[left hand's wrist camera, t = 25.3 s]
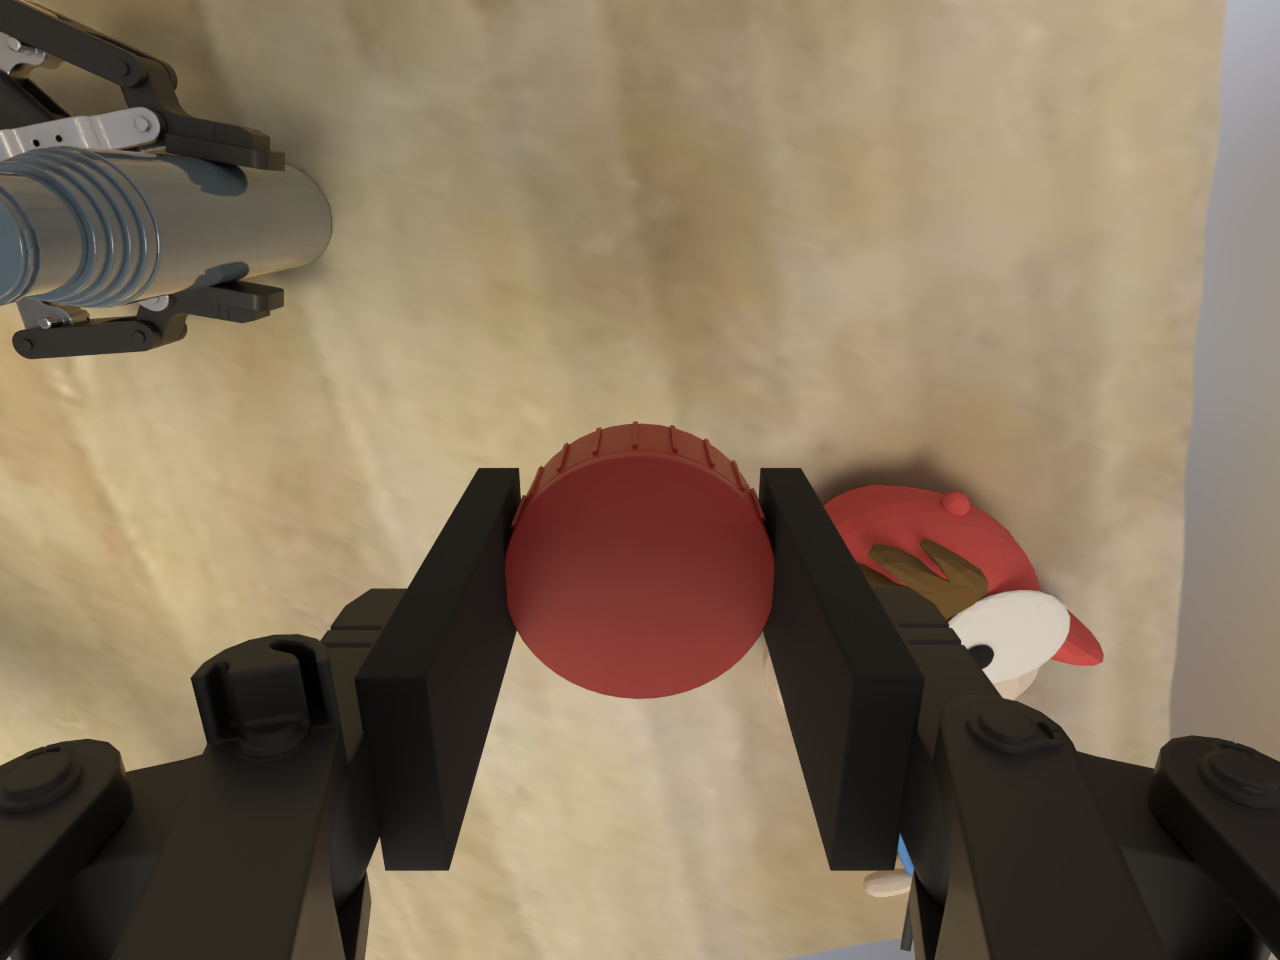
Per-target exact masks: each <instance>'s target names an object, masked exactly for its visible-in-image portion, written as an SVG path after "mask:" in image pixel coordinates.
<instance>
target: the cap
mask: <svg viewBox="0 0 1280 960" xmlns="http://www.w3.org/2000/svg"><path fill="white" fill-rule="evenodd" d="M764 521H766V518H765V515H764V513H763V510H762V508H761V505H760V503H759V500H758V497H757V495H756V492H755V490H754V488H752V489H750V487H749V485H748V484H747V482H746V480H745V479H744V477H743V476H742V474H741V473H740V471H739V469H738V466H737V463H736V462H735V461H734V460H733V461H732V462H731V461H730V460H729V459H728V458H727V457H726V456H725V455H724V454H722V453H721V452H720V451H719V450H718V449H716V448H715V447H713V446H712V445H710V443H709V440H707V439H706V438H705V439H704V440H702V439H700V438H698V437H696V436H694V435H692V434H690V433H687V432H684V431H681V430H678V429H675V426H673V425H670V427H666V426H661V425H652V424H638V422H633V424H626V425H619V426H613V427H609V428H605V429H601V427H600V428H597V429H596V431H595V432H593V433H590V434H588V435H586V436H584V437H581V438H579V439H577V440H576V441H574V442H573V443H571V444H568V443H566V444H564V446H563V449H562V450H561V451H560V452H559V453H557V454H556V455H555V456H554V457H553V458H552V459H551V460H550V461H549V462H548V463H547V464H546V465H545V466H544V467H542V466H540V467H539V469H538V471H537V474H536V476H535V479H534V481H533V483H532V485H531V487H530V489H529V491H528V493H527V495H526V496H525V495H523V496H522V499H521V501H520V504H519V506H518V509H517V511H516V514H515V516H514V519H513V522H512V524H511V527H510V528H511V529H513V532H512V534H511V537H510V540H509V543H508V546H507V549H506V554H505V574H506V588H507V602H508V611H509V614H510V617H511V619H512V621H513V624H514V626H515V628H516V630H517V631H518V633H519V635H520V636H521V638H522V640H523V641H524V643H525V644H526V645H527V646H528V648H529V649H530V650H531V651H532V653H533V654H534V655H535V656H536V657H537V658H538V659H539V660H540V661H542V662H543V663H544V664H545V665H546V666H547V667H548V668H550V669H551V670H552V671H554V672H555V673H556V674H558V675H559V676H561V677H563V678H565V679H566V680H568V681H570V682H571V683H574V684H576V685H578V686H580V687H583V688H585V689H587V690H591V691H594V692H597V693H600V694H604V695H609V696H615V697H620V698H633V699H645V698H658V697H665V696H671V695H675V694H679V693H683V692H686V691H689V690H692V689H694V688H697V687H700V686H702V685H704V684H706V683H708V682H710V681H712V680H714V679H716V678H717V677H719V676H720V675H722V674H723V673H724V672H726V671H727V670H729V669H730V668H731V667H732V666H734V665H735V664H736V663H737V662H738V661H739V660H740V659H742V657H743V656H744V655H745V654H746V653H747V652H748V651H749V650H750V648H751V647H752V646H753V645H754V643H755V642H756V640H757V639H758V637H759V636H760V634H761V633H762V631H763V629H764V627H765V625H766V623H767V621H768V619H769V616H770V612H771V608H772V596H773V582H774V568H775V555H774V552H773V548H772V544H771V541H770V538H769V535H768V533H767V530H766V527H765V525H764Z"/></svg>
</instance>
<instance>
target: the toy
mask: <svg viewBox="0 0 1280 960" xmlns="http://www.w3.org/2000/svg"><path fill="white" fill-rule="evenodd" d="M823 507H824V508H825V510H826V512H827V513H828V515H829V517H830V518H831V520H832V522H833V523H834V525H835V527H836V529H837V530H838V532H839V534H840V535H841V537H842V539H843V540H844V542H845V544H846V545H847V547H848V549H849V551H850V552H851V554H852V556H853V557H854V559H855V561H856V562H857V564H858V566H859V567H860V569H861V571H862V573H863V574H864V576H865V578H866V579H867V581H868V583H869V584H870V586H909V587H910V588H912V589H913V590H915V591H916V592H918V593H919V594H921V595H922V596H924V597H925V598H927V599H928V600H930V601H931V602H933V603H934V604H935V605H936V606H937V608H938V609H939V610H940V612H941V613H942V615H943V616H944V617H945V619H946V620H947V621H948V623H949V628H953V630H954V631H955V633H956V634H957V635H958V637H959V638H960V639H961V644H962V645H965V646H966V648H967V649H968V651H969V652H970V653H971V655H972V656H973V657H974V659H975V660H976V662H977V663H978V664H979V666H980V667H981V668H982V670H983V671H984V673H985V674H986V675H987V677H988V678H989V680H990V681H991V682H992V684H993V685H994V686H995V688H996V689H997V691H998V692H999V693H1000V695H1001V696H1002V698H1005V699H1009V700H1015V699H1016V698H1017V697H1018V696H1019V695H1020V694H1021V693H1023V692H1024V691H1025V690H1026V689H1027V688H1028V687H1029V686H1030V684H1031V683H1032V682H1033V681H1034V679H1035V678H1036V675H1037V673H1038V670H1039V667H1040V666H1041V665H1042V664H1044V663H1045V662H1046V661H1047V660H1049V659H1050V658H1051V659H1052V660H1056V661H1060V662H1064V663H1068V664H1072V665H1079V666H1095V665H1097V664H1099V663H1101V662H1103V656H1104V654H1103V652H1102V649H1101V646H1100V644H1099V642H1098V641H1097V640H1096V638H1095V637H1094V636H1093V634H1092V633H1091V631H1089V630H1088V629H1087V628H1086V627H1085V626H1084V625H1083V624H1082V623H1081V622H1080V621H1079V620H1078V619H1077V618H1076V617H1075V616H1074V615H1073V614H1072V613H1071V612H1069V611H1068V610H1067V609H1066V606H1065V605H1064V604H1063V603H1062V602H1060V601H1059V600H1058V599H1056V598H1055V597H1054V596H1052V595H1049V594H1046V593H1043V592H1042V591H1041V588H1040V585H1039V582H1038V579H1037V576H1036V574H1035V571H1034V569H1033V567H1032V565H1031V563H1030V561H1029V559H1028V557H1027V555H1026V554H1025V553H1024V551H1023V550H1022V549H1021V547H1020V546H1019V545H1018V543H1017V542H1016V541H1015V539H1014V538H1013V537H1012V536H1011V534H1010V533H1009V532H1008V530H1007V529H1005V528H1004V527H1003V526H1002V525H1001V524H1000V523H999V522H997V521H996V520H995V519H994V518H993V517H991V516H990V515H988V514H987V513H985V512H984V511H982V510H980V509H978V508H976V507H974V506H972V505H970V501H969V498H968V497H967V496H966V495H965V494H964V493H962V492H959V491H952V492H948V493H947V494H946V495H944V494H941V493H937V492H934V491H929V490H923V489H917V488H911V487H905V486H885V485H870V486H865V487H860V488H855V489H851V490H849V491H847V492H845V493H842V494H840V495H838V496H836V497H834V498H833V499H832V500H830V501H829V502H827V503H826V504H825V505H823ZM763 675H764V679H765V684H766V685H767V687H768V689H769V690H770V692H771V693H772V694H773V696H774V697H775V698H776V699H777V701H778V702H779V703H780V705H781V706H782V707H783V708H784V709H785V707H784V704H783V700H782V697H781V693H780V690H779V686H778V683H777V679H776V675H775V672H774V668H773V665H772V661H771V658H770V654H769V651H768V647H767V644H766V645H765V649H764V660H763ZM898 853H899V857H900V860H901V862H902V864H903V866H904V868H905V869H894V871H878V872H874V873H872V874H870V875H868V876H866V877H865V879H864V883H863V884H864V888H865V890H866V892H867V893H868V894H869V895H871V896H875V897H885V896H894V895H898V894H902V893H905V892H908V891H910V887H911V882H912V876H913V870H914V866H913V864H912V861H911V859H910V857H909V854H908V852H907V849H906V847H905V844H904V842H903V839H902V837H901V834H900V837H899V843H898Z"/></svg>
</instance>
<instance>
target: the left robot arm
mask: <svg viewBox="0 0 1280 960" xmlns="http://www.w3.org/2000/svg"><path fill="white" fill-rule="evenodd" d="M520 501H521V494H520V478H519V468H479V469H478V470H477V472H476V474H475V475H474V477H473V479H472V480H471V482H470V484H469V485H468V487H467V489H466V491H465V492H464V494H463V496H462V497H461V499H460V501H459V502H458V504H457V506H456V507H455V509H454V511H453V512H452V514H451V516H450V518H449V519H448V521H447V523H446V524H445V526H444V528H443V529H442V531H441V533H440V534H439V536H438V538H437V540H436V541H435V543H434V545H433V546H432V548H431V550H430V551H429V553H428V555H427V556H426V558H425V560H424V561H423V563H422V565H421V567H420V568H419V570H418V572H417V573H416V575H415V577H414V578H413V580H412V582H411V583H410V585H409V587H408V589H370V590H369V591H367V592H366V593H364V594H363V595H361V596H360V597H358V598H357V599H355V600H354V601H352V602H351V603H349V604H348V605H346V606H345V607H344V609H343V610H342V611H341V613H340V614H339V616H338V617H337V618H336V620H335V621H334V623H333V624H332V625H331V630H328V631H327V632H326V634H325V635H324V636H323V638H322V639H321V641H319V640H318V639H315V638H311V637H307V636H303V635H299V634H290V635H271V636H267V637H262V638H257V639H252V640H248V641H246V642H243V643H241V644H238V645H235V646H233V647H230V648H228V649H225V650H223V651H222V652H220V653H219V654H217V655H215V656H214V657H212V658H211V659H209V660H208V661H206V662H204V663H203V664H202V665H201V667H200V668H199V669H198V670H197V671H196V672H195V673H194V675H193V676H192V677H191V681H192V685H193V689H194V693H195V697H196V701H197V705H198V709H199V713H200V716H201V720H202V724H203V728H204V732H205V736H206V740H207V746H206V748H205V750H204V752H203V754H202V755H199V756H195V757H192V758H188V759H185V760H180V761H175V762H171V763H166V764H161V765H157V766H152V767H147V768H143V769H138V770H133V771H129V772H126V771H125V768H124V764H123V761H122V758H121V755H120V752H119V751H118V750H117V749H116V748H115V747H113V746H112V745H111V744H110V743H109V742H104V741H98V740H92V739H83V740H74V741H65V742H59V743H56V744H51V745H47V746H46V747H40V748H38V749H35V750H32V751H29V752H27V753H25V754H24V755H22V756H20V757H18V758H15V759H13V760H11V761H9V762H7V763H5V764H3V765H1V766H0V960H6V959H7V958H8V957H9V956H10V958H11V960H365V952H366V943H367V935H368V926H369V918H370V909H371V896H370V888H369V882H368V876H367V870H366V869H367V867H368V864H369V862H370V859H371V857H372V854H373V852H374V849H375V847H376V844H377V842H378V839H379V837H380V840H381V846H382V853H383V859H384V865H385V871H434V870H449V868H450V865H451V861H452V858H453V854H454V851H455V847H456V844H457V840H458V837H459V833H460V829H461V826H462V822H463V819H464V815H465V812H466V808H467V805H468V801H469V798H470V794H471V791H472V787H473V783H474V780H475V776H476V773H477V769H478V766H479V762H480V759H481V755H482V752H483V748H484V745H485V741H486V738H487V734H488V730H489V727H490V723H491V720H492V716H493V713H494V709H495V706H496V702H497V699H498V695H499V692H500V688H501V684H502V681H503V677H504V674H505V670H506V667H507V663H508V660H509V656H510V653H511V649H512V646H513V642H514V638H515V635H516V631H517V630H516V628H515V626H514V624H513V621H512V619H511V617H510V614H509V611H508V602H507V588H506V574H505V554H506V549H507V546H508V543H509V540H510V537H511V534H512V532H513V529H511V528H510V527H511V524H512V522H513V519H514V516H515V514H516V511H517V509H518V506H519V504H520ZM759 503H760V505H761V508H762V510H763V513H764V515H765V518H766V521H764V525H765V527H766V530H767V533H768V535H769V538H770V541H771V544H772V548H773V552H774V555H775V568H774V582H773V596H772V608H771V612H770V616H769V619H768V621H767V623H766V625H765V627H764V629H763V633H764V637H765V640H766V644H767V647H768V651H769V654H770V658H771V661H772V665H773V668H774V672H775V675H776V679H777V683H778V686H779V690H780V693H781V697H782V700H783V704H784V707H785V711H786V714H787V718H788V722H789V725H790V729H791V732H792V736H793V739H794V743H795V746H796V750H797V753H798V757H799V760H800V764H801V768H802V771H803V775H804V778H805V782H806V785H807V789H808V792H809V796H810V799H811V803H812V806H813V810H814V814H815V817H816V821H817V824H818V828H819V831H820V835H821V838H822V842H823V845H824V849H825V852H826V856H827V860H828V863H829V867H830V870H831V871H894V868H895V862H896V856H897V850H898V843H899V837H900V834H901V837H902V839H903V842H904V844H905V847H906V849H907V852H908V854H909V857H910V859H911V861H912V864H913V866H914V870H913V876H912V882H911V887H910V893H909V899H908V905H907V910H906V916H905V922H904V927H903V933H902V941H901V950H906V951H911V946H912V940H913V942H914V950H915V959H916V960H1268V958H1269V956H1270V954H1271V952H1272V953H1273V954H1274V955H1275V957H1276V958H1277V959H1278V960H1280V762H1279V761H1277V760H1275V759H1273V758H1270V757H1268V756H1266V755H1264V754H1262V753H1260V752H1258V751H1256V750H1255V749H1253V748H1250V747H1247V746H1245V745H1242V744H1239V743H1237V744H1236V743H1234V742H1231V741H1227V740H1223V739H1219V738H1210V737H1202V736H1186V737H1180V738H1174V739H1171V740H1170V741H1169V742H1168V743H1166V744H1165V745H1164V746H1163V747H1162V748H1161V749H1160V753H1159V756H1158V759H1157V762H1156V766H1155V769H1153V768H1148V767H1144V766H1139V765H1134V764H1129V763H1125V762H1120V761H1115V760H1111V759H1106V758H1101V757H1096V756H1093V755H1089V754H1086V753H1082V752H1078V751H1076V749H1075V747H1074V744H1073V742H1072V741H1071V740H1070V738H1069V737H1068V736H1067V734H1066V733H1065V732H1064V730H1063V729H1062V728H1061V726H1059V725H1058V724H1057V723H1055V722H1054V721H1053V720H1051V719H1050V718H1048V717H1047V716H1046V715H1044V714H1043V713H1042V712H1040V711H1038V710H1035V709H1033V708H1031V707H1029V706H1026V705H1024V704H1022V703H1020V702H1018V701H1014V700H1009V699H1005V698H1002V696H1001V695H1000V693H999V692H998V691H997V689H996V688H995V686H994V685H993V684H992V682H991V681H990V680H989V678H988V677H987V675H986V674H985V673H984V671H983V670H982V668H981V667H980V666H979V664H978V663H977V662H976V660H975V659H974V657H973V656H972V655H971V653H970V652H969V651H968V649H967V648H966V646H965V645H962V644H961V639H960V638H959V637H958V635H957V634H956V633H955V631H954V630H953V628H949V623H948V621H947V620H946V619H945V617H944V616H943V615H942V613H941V612H940V610H939V609H938V608H937V606H936V605H935V604H934V603H933V602H931V601H930V600H928V599H927V598H925V597H924V596H922V595H921V594H919V593H918V592H916V591H915V590H913V589H912V588H910V587H909V586H870V584H869V583H868V581H867V579H866V578H865V576H864V574H863V573H862V571H861V569H860V567H859V566H858V564H857V562H856V561H855V559H854V557H853V556H852V554H851V552H850V551H849V549H848V547H847V545H846V544H845V542H844V540H843V539H842V537H841V535H840V534H839V532H838V530H837V529H836V527H835V525H834V523H833V522H832V520H831V518H830V517H829V515H828V513H827V512H826V510H825V508H824V507H823V505H822V503H821V502H820V500H819V498H818V496H817V495H816V493H815V491H814V490H813V488H812V486H811V485H810V483H809V481H808V480H807V478H806V476H805V474H804V473H803V471H802V469H801V468H761V470H760V486H759Z"/></svg>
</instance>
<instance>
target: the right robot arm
mask: <svg viewBox="0 0 1280 960" xmlns="http://www.w3.org/2000/svg"><path fill="white" fill-rule="evenodd" d="M64 61H67V62H69V63H71V64H73V65H76V66H78V67H80V68H82V69H85V70H87V71H89V72H91V73H94V74H96V75H98V76H100V77H102V78H105V79H107V80H109V81H111V82H114V83H116V84H118V85H120V87H121V89H122V92H123V95H124V97H125V100H126V102H127V105H128V108H129V109H124V110H119V111H114V112H109V113H104V114H99V115H89V116H74V117H72V116H71V115H70V114H69V113H67V112H66V111H65V110H64V109H63V108H62V107H61V106H60V105H58V104H57V103H56V102H55V101H54V100H53V99H52V98H51V97H49V96H48V95H47V94H46V93H45V92H44V91H43V90H42V89H40V88H39V87H38V86H37V85H36V84H35V83H34V82H33V81H31V80H30V79H29V78H28V74H29V72H30V71H31V70H32V69H34V68H36V67H42V68H46V69H55V68H57V67H59V66H60V64H61V63H62V62H64ZM176 87H177V76H176V73H175V71H174V70H173V68H172V67H171V66H170V65H168V64H167V63H165V62H163V61H161V60H159V59H157V58H154V57H152V56H150V55H148V54H146V53H143V52H141V51H139V50H137V49H135V48H132V47H130V46H128V45H126V44H124V43H122V42H119V41H117V40H115V39H113V38H111V37H108V36H106V35H104V34H102V33H100V32H97V31H95V30H93V29H91V28H89V27H87V26H84V25H82V24H80V23H78V22H76V21H73V20H71V19H69V18H67V17H65V16H62V15H60V14H58V13H56V12H54V11H52V10H49V9H47V8H45V7H43V6H41V5H38V4H35V3H32V2H28V1H25V0H0V161H2V160H5V159H8V158H10V157H13V156H15V155H18V154H21V153H24V152H26V151H29V150H32V149H37V148H47V147H52V146H72V147H84V148H97V149H109V150H121V151H133V152H146V153H150V152H155V151H160V150H165V149H166V152H168V153H173V154H178V155H184V156H192V157H196V158H200V159H206V160H211V161H217V162H222V163H227V164H233V165H238V166H244V167H249V168H255V169H261V170H269V171H285V153H281V152H276V151H270V137H268V136H267V135H265V134H263V133H262V132H260V131H259V130H257V129H251V128H246V127H240V126H235V125H230V124H224V123H219V122H214V121H208V120H203V119H198V118H194V117H192V116H190V115H189V114H187V113H186V112H185V111H184V110H183V109H182V107H181V106H180V104H179V102H178V100H177V97H176V94H175V89H176ZM136 303H138V304H140V307H139V310H138V313H137V316H126V317H112V318H98V319H89V317H90V315H89V313H88V312H87V311H86V310H84V309H81V308H80V307H76V306H71V305H64V304H59V303H52V302H47V301H42V300H35V299H31V298H27V297H26V298H22V299H20V300H19V301H17V302H16V304H17V306H18V309H19V312H20V315H21V317H22V320H23V323H24V325H25V328H26V329H25V330H21V331H18V332H16V333H15V334H14V336H13V339H12V343H13V346H14V348H15V350H16V351H17V352H18V353H19V354H20V355H21V356H23V357H25V358H28V359H40V358H54V357H68V356H83V355H97V354H111V353H125V352H139V351H147V350H150V349H153V348H157V347H160V346H163V345H166V344H169V343H172V342H175V341H178V340H181V339H183V338H184V337H185V336H186V334H187V326H186V323H185V320H186V318H187V315H188V314H192V315H198V316H204V317H210V318H215V319H221V320H229V321H233V322H239V323H245V322H250V321H254V320H257V319H260V318H263V317H266V316H269V315H270V311H271V310H274V309H277V308H280V307H283V306H284V289H281V288H277V287H272V286H266V285H260V284H255V283H249V282H243V281H238V280H236V281H231V282H227V283H222V284H217V285H213V286H208V287H204V288H199V289H195V290H190V291H185V292H181V293H176V294H172V295H167V296H163V297H158V298H153V299H149V300H144V301H140V302H136Z"/></svg>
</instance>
